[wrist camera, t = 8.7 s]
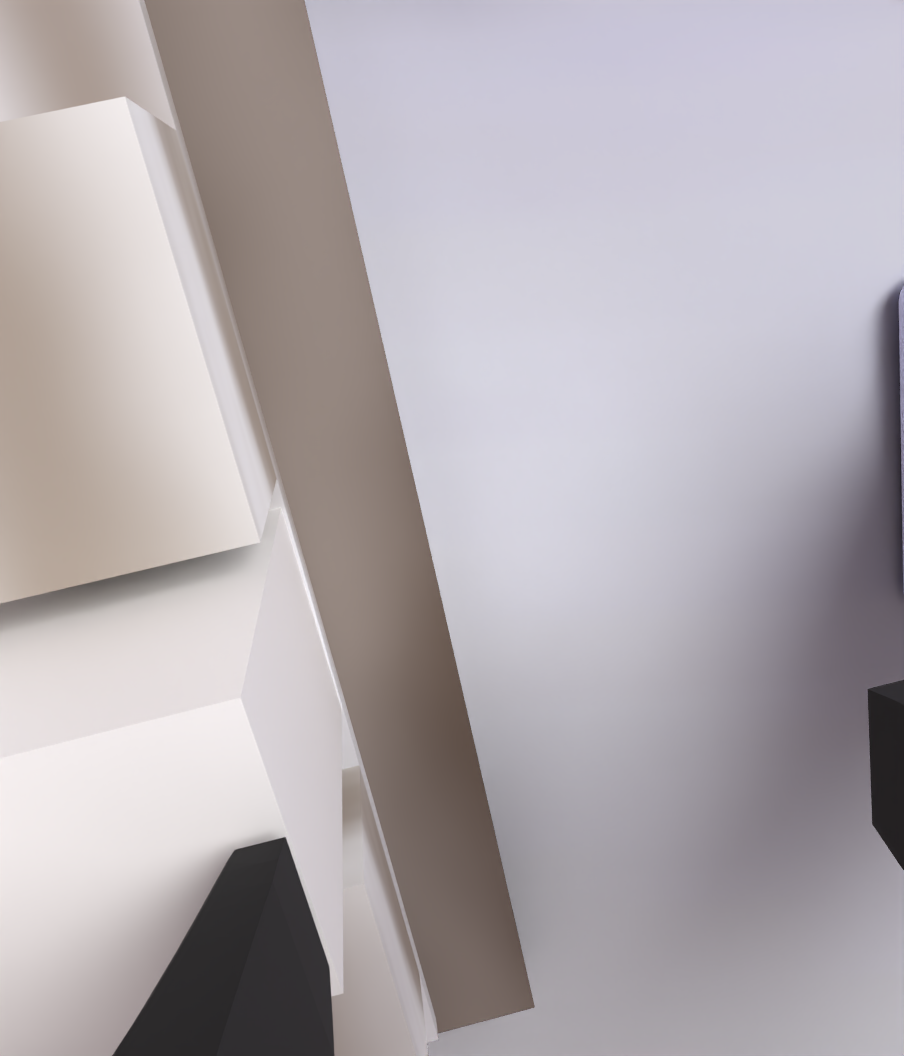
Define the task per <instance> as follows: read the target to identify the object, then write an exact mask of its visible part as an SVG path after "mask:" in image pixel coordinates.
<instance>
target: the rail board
mask: <svg viewBox="0 0 904 1056" xmlns="http://www.w3.org/2000/svg"><path fill="white" fill-rule="evenodd" d="M280 507H281V508H282V512H283V515H284V518H285V522H286V525H287V528H288V532H289V535H290V538H291V542H292V545H293V548H294V552H295V555H296V558H297V562H298V565H299V568H300V572H301V575H302V578H303V582H304V585H305V588H306V592H307V595H308V598H309V602H310V605H311V608H312V612H313V615H314V618H315V621H316V625H317V628H318V631H319V635H320V638H321V641H322V645H323V648H324V651H325V655H326V658H327V661H328V665H329V668H330V671H331V675H332V678H333V681H334V685H335V688H336V691H337V695H338V698H339V701H340V705H341V708H342V846H343V994H339V995H335V996H332V997H331V999H332V1014H333V1035H334V1055H335V1056H428V1048H427V1043H429V1042H433V1041H437V1040H439V1039H438V1033H441V1032H445V1031H449V1030H452V1029H456V1028H460V1027H464V1026H467V1025H471V1024H475V1023H478V1022H482V1021H486V1020H490V1019H493V1018H497V1017H501V1016H505V1015H508V1014H512V1013H516V1012H519V1011H523V1010H527V1009H531V1008H534V1002H533V998H532V993H531V989H530V985H529V980H528V976H527V972H526V967H525V963H524V958H523V954H522V950H521V945H520V941H519V937H518V932H517V928H516V923H515V919H514V915H513V910H512V906H511V902H510V897H509V893H508V889H507V884H506V880H505V875H504V871H503V867H502V862H501V858H500V854H499V849H498V845H497V840H496V836H495V832H494V827H493V823H492V819H491V814H490V810H489V805H488V801H487V797H486V792H485V788H484V784H483V779H482V775H481V770H480V766H479V762H478V757H477V753H476V749H475V744H474V740H473V736H472V731H471V727H470V722H469V718H468V714H467V709H466V705H465V701H464V696H463V692H462V687H461V683H460V679H459V674H458V670H457V666H456V661H455V657H454V652H453V648H452V644H451V639H450V635H449V631H448V626H447V622H446V617H445V613H444V609H443V604H442V600H441V596H440V591H439V587H438V583H437V578H436V574H435V569H434V565H433V561H432V556H431V552H430V548H429V543H428V539H427V534H426V530H425V526H424V521H423V517H422V513H421V508H420V504H419V499H418V495H417V491H416V486H415V482H414V478H413V473H412V469H411V465H410V460H409V456H408V451H407V447H406V443H405V438H404V434H403V430H402V425H401V421H400V416H399V412H398V408H397V403H396V399H395V395H394V390H393V386H392V381H391V377H390V373H389V368H388V364H387V360H386V355H385V351H384V346H383V342H382V338H381V333H380V329H379V325H378V320H377V316H376V312H375V307H374V303H373V298H372V294H371V290H370V285H369V281H368V277H367V272H366V268H365V263H364V259H363V255H362V250H361V246H360V242H359V237H358V233H357V228H356V224H355V220H354V215H353V211H352V207H351V202H350V198H349V193H348V189H347V185H346V180H345V176H344V172H343V167H342V163H341V159H340V154H339V150H338V145H337V141H336V137H335V132H334V128H333V124H332V119H331V115H330V110H329V106H328V102H327V97H326V93H325V89H324V84H323V80H322V75H321V71H320V67H319V62H318V58H317V54H316V49H315V45H314V40H313V36H312V32H311V27H310V23H309V19H308V14H307V10H306V6H305V1H304V0H0V603H5V602H9V601H13V600H17V599H22V598H26V597H30V596H34V595H39V594H43V593H47V592H51V591H56V590H60V589H64V588H69V587H73V586H77V585H81V584H86V583H90V582H94V581H98V580H103V579H107V578H111V577H115V576H120V575H124V574H128V573H132V572H137V571H141V570H145V569H149V568H154V567H158V566H162V565H166V564H171V563H175V562H179V561H184V560H188V559H192V558H196V557H201V556H205V555H209V554H213V553H218V552H222V551H226V550H230V549H235V548H239V547H243V546H247V545H252V544H256V543H260V542H261V538H262V534H263V530H264V526H265V523H266V519H267V515H268V511H269V510H272V509H276V508H280Z"/></svg>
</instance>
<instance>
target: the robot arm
mask: <svg viewBox="0 0 904 1056" xmlns="http://www.w3.org/2000/svg"><path fill="white" fill-rule="evenodd" d="M899 349H900V410H901V472H902V533H903V593H904V286H903V288H902V290H901V292H900V297H899ZM868 710H869V740H870V769H871V798H872V824H873V826H874V827H875V829H876V830H877V832H878V833H879V835H880V836H881V838H882V839H883V841H884V842H885V844H886V845H887V847H888V848H889V850H890V851H891V852H892V854H893V855H894V857H895V858H896V860H897V861H898V863H899V864H900V866H901V867H902V869H903V870H904V680H902V681H898V682H894V683H890V684H886V685H882V686H878V687H874V688H870V689H868ZM112 1056H335V1055H334V1035H333V1014H332V999H331V983H330V967H329V964H328V961H327V958H326V955H325V952H324V949H323V946H322V943H321V940H320V937H319V934H318V931H317V928H316V925H315V922H314V919H313V916H312V913H311V910H310V907H309V904H308V902H307V899H306V896H305V893H304V890H303V887H302V884H301V881H300V878H299V875H298V872H297V869H296V866H295V863H294V860H293V857H292V854H291V851H290V848H289V845H288V842H287V839H286V837H283V838H279V839H275V840H271V841H267V842H263V843H259V844H255V845H251V846H247V847H244V848H240V849H236V850H234V852H233V853H232V855H231V856H230V858H229V859H228V861H227V862H226V864H225V866H224V868H223V869H222V871H221V873H220V875H219V877H218V878H217V880H216V882H215V884H214V886H213V887H212V889H211V891H210V893H209V895H208V896H207V898H206V900H205V902H204V904H203V905H202V907H201V909H200V911H199V912H198V914H197V916H196V918H195V920H194V921H193V923H192V925H191V927H190V928H189V930H188V932H187V934H186V935H185V937H184V939H183V941H182V942H181V944H180V946H179V948H178V950H177V951H176V953H175V955H174V956H173V958H172V960H171V961H170V963H169V965H168V966H167V968H166V970H165V971H164V973H163V975H162V976H161V978H160V980H159V981H158V983H157V985H156V986H155V988H154V990H153V991H152V993H151V995H150V996H149V998H148V1000H147V1001H146V1003H145V1005H144V1007H143V1008H142V1010H141V1011H140V1013H139V1015H138V1016H137V1018H136V1020H135V1021H134V1023H133V1024H132V1026H131V1028H130V1029H129V1031H128V1032H127V1034H126V1035H125V1037H124V1038H123V1040H122V1041H121V1043H120V1044H119V1046H118V1047H117V1049H116V1050H115V1052H114V1053H113V1055H112Z"/></svg>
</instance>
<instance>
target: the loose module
mask: <svg viewBox="0 0 904 1056" xmlns="http://www.w3.org/2000/svg"><path fill="white" fill-rule="evenodd" d="M283 837H286V839H287V842H288V845H289V848H290V851H291V854H292V857H293V860H294V863H295V866H296V869H297V872H298V875H299V878H300V881H301V884H302V887H303V890H304V893H305V896H306V899H307V902H308V904H309V907H310V910H311V913H312V916H313V919H314V922H315V925H316V928H317V931H318V934H319V937H320V940H321V943H322V946H323V949H324V952H325V955H326V958H327V961H328V964H329V967H330V983H331V997H332V996H335V995H339V994H343V846H342V708H341V705H340V701H339V698H338V695H337V691H336V688H335V685H334V681H333V678H332V675H331V671H330V668H329V665H328V661H327V658H326V655H325V651H324V648H323V645H322V641H321V638H320V635H319V631H318V628H317V625H316V621H315V618H314V615H313V612H312V608H311V605H310V602H309V598H308V595H307V592H306V588H305V585H304V582H303V578H302V575H301V572H300V568H299V565H298V562H297V558H296V555H295V552H294V548H293V545H292V542H291V538H290V535H289V532H288V528H287V525H286V522H285V518H284V515H283V512H282V508H281V507H280V508H276V509H272V510H269V511H268V515H267V519H266V523H265V526H264V530H263V534H262V538H261V542H260V543H256V544H252V545H247V546H243V547H239V548H235V549H230V550H226V551H222V552H218V553H213V554H209V555H205V556H201V557H196V558H192V559H188V560H184V561H179V562H175V563H171V564H166V565H162V566H158V567H154V568H149V569H145V570H141V571H137V572H132V573H128V574H124V575H120V576H115V577H111V578H107V579H103V580H98V581H94V582H90V583H86V584H81V585H77V586H73V587H69V588H64V589H60V590H56V591H51V592H47V593H43V594H39V595H34V596H30V597H26V598H22V599H17V600H13V601H9V602H5V603H0V1056H112V1055H113V1053H114V1052H115V1050H116V1049H117V1047H118V1046H119V1044H120V1043H121V1041H122V1040H123V1038H124V1037H125V1035H126V1034H127V1032H128V1031H129V1029H130V1028H131V1026H132V1024H133V1023H134V1021H135V1020H136V1018H137V1016H138V1015H139V1013H140V1011H141V1010H142V1008H143V1007H144V1005H145V1003H146V1001H147V1000H148V998H149V996H150V995H151V993H152V991H153V990H154V988H155V986H156V985H157V983H158V981H159V980H160V978H161V976H162V975H163V973H164V971H165V970H166V968H167V966H168V965H169V963H170V961H171V960H172V958H173V956H174V955H175V953H176V951H177V950H178V948H179V946H180V944H181V942H182V941H183V939H184V937H185V935H186V934H187V932H188V930H189V928H190V927H191V925H192V923H193V921H194V920H195V918H196V916H197V914H198V912H199V911H200V909H201V907H202V905H203V904H204V902H205V900H206V898H207V896H208V895H209V893H210V891H211V889H212V887H213V886H214V884H215V882H216V880H217V878H218V877H219V875H220V873H221V871H222V869H223V868H224V866H225V864H226V862H227V861H228V859H229V858H230V856H231V855H232V853H233V852H234V850H236V849H240V848H244V847H247V846H251V845H255V844H259V843H263V842H267V841H271V840H275V839H279V838H283Z"/></svg>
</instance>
